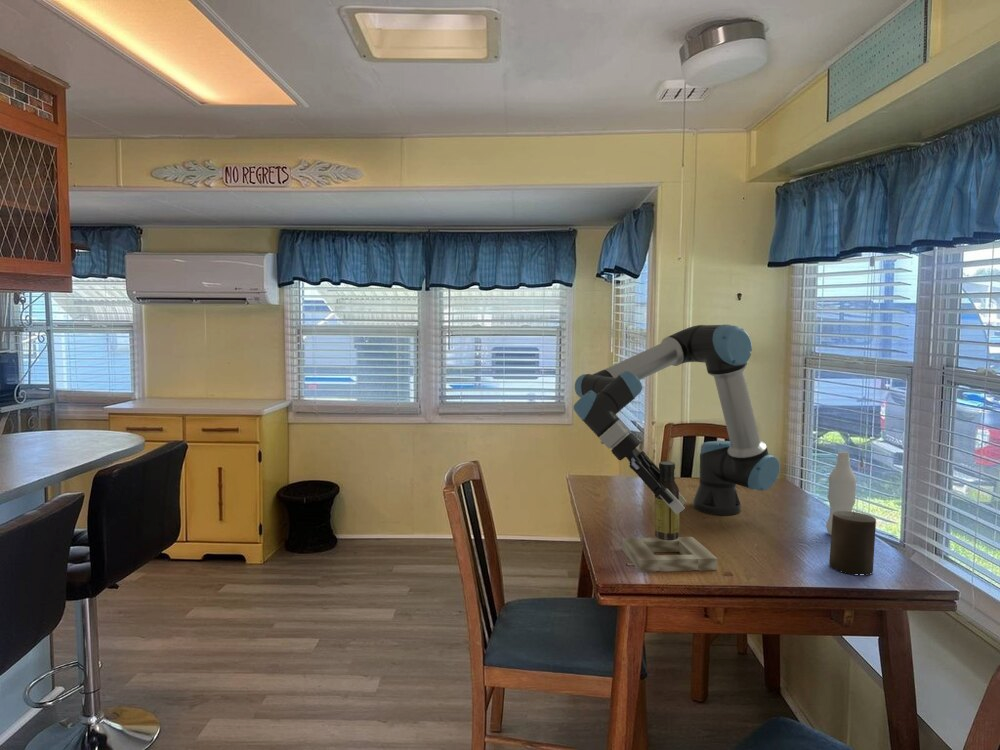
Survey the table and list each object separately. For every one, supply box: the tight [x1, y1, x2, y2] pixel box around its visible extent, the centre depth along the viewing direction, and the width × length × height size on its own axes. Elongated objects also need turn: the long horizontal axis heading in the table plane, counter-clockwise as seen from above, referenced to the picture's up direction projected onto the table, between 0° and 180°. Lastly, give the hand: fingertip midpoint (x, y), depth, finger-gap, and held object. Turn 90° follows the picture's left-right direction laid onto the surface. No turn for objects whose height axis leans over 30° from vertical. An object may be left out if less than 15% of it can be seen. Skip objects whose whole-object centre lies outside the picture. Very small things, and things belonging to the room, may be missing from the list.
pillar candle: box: [828, 510, 877, 576], centre depth 155 cm, size 10×10×15 cm
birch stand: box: [621, 536, 718, 573], centre depth 160 cm, size 20×16×3 cm
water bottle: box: [825, 450, 857, 536], centre depth 179 cm, size 7×7×25 cm
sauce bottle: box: [654, 461, 680, 541], centre depth 159 cm, size 6×6×20 cm
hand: (681, 507), depth 158 cm, fingers closed on sauce bottle, 6 cm apart
